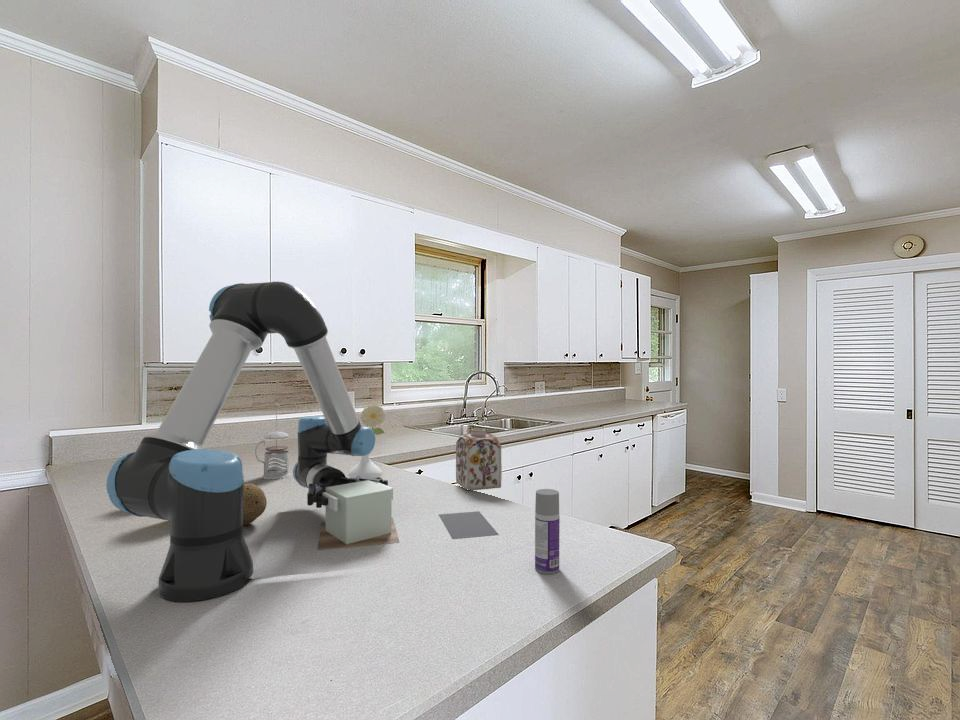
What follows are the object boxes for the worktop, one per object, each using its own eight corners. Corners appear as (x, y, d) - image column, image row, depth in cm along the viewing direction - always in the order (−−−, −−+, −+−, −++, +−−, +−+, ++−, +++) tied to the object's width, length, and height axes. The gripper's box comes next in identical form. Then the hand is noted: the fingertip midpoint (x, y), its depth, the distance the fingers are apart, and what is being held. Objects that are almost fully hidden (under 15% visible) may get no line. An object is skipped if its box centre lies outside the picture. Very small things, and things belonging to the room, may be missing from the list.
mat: (498, 536, 115) (498, 534, 115) (411, 545, 110) (411, 542, 110) (479, 513, 132) (479, 511, 132) (402, 519, 127) (402, 517, 127)
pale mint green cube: (391, 532, 115) (391, 489, 115) (346, 544, 108) (346, 497, 108) (368, 520, 124) (368, 480, 124) (325, 530, 117) (325, 487, 117)
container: (556, 564, 100) (557, 488, 100) (561, 574, 95) (561, 495, 95) (533, 564, 100) (533, 488, 100) (536, 574, 95) (537, 495, 95)
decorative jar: (455, 482, 165) (455, 427, 165) (488, 479, 169) (488, 425, 169) (467, 491, 154) (467, 432, 154) (502, 488, 158) (502, 430, 158)
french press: (292, 477, 170) (292, 404, 170) (254, 481, 166) (254, 405, 166) (291, 471, 180) (291, 401, 179) (255, 474, 175) (255, 402, 175)
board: (399, 546, 109) (399, 542, 109) (317, 553, 105) (317, 549, 105) (392, 520, 127) (392, 516, 127) (321, 525, 122) (321, 522, 122)
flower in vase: (341, 482, 165) (341, 405, 165) (357, 474, 176) (357, 402, 176) (378, 484, 162) (378, 406, 162) (392, 476, 173) (392, 403, 173)
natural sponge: (275, 522, 124) (275, 482, 124) (242, 533, 117) (242, 490, 117) (252, 517, 129) (252, 478, 129) (219, 527, 121) (219, 485, 121)
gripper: (370, 487, 138) (412, 505, 121) (277, 504, 122) (310, 527, 105) (370, 460, 138) (412, 474, 121) (277, 473, 122) (310, 492, 105)
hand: (365, 499), depth 113 cm, fingers open, 13 cm apart
